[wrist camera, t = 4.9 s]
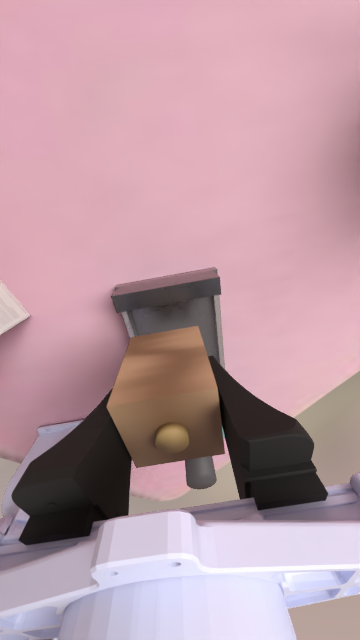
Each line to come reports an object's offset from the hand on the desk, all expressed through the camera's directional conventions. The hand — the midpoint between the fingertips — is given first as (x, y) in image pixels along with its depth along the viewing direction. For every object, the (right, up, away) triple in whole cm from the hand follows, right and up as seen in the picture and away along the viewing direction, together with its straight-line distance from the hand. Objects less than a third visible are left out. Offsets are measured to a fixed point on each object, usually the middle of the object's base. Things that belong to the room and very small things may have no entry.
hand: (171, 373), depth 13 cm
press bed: (+1, -1, +10) cm, 10 cm away
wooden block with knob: (0, +1, +1) cm, 2 cm away
